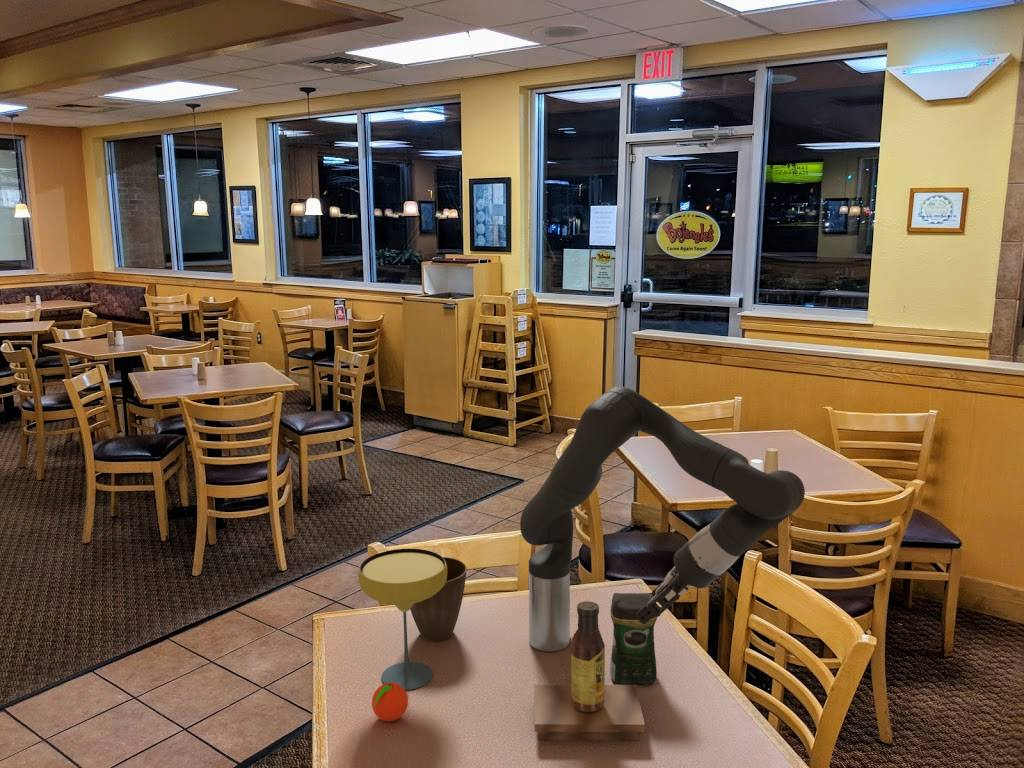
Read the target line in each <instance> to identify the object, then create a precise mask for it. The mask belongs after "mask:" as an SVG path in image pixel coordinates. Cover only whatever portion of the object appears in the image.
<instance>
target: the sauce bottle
mask: <svg viewBox="0 0 1024 768" xmlns="http://www.w3.org/2000/svg"><path fill="white" fill-rule="evenodd" d="M576 611H577V612H576V613H577V619H578V621H577V629H576V631H575V633H574V634H573V636H572V638H571V653H570V655H571V657H570V658H571V659H570V661H571V662H570V663H571V665H570V666H571V667H570V669H571V670H570V671H571V673H570V674H571V675H570V676H571V677H570V680H571V681H570V685H571V696H572V704H573V706H574V707H575V708H576V709H577V710H579V711H582V712H595V711H598V710H599V709H601V708H602V707H603V704H604V685H605V678H606V677H605V675H606V674H605V672H606V671H605V670H606V669H605V666H606V663H605V659H606V656H605V655H606V651H605V650H606V647H605V646H606V645H605V642H604V639H603V637H602V634H601V631H600V629H599V613H600V605H599V604H598V603H597V602H594V601H590V600H589V601H586V600H585V601H581V602H579V603H578V604H577V605H576Z"/></svg>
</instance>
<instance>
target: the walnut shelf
mask: <svg viewBox="0 0 1024 768" xmlns="http://www.w3.org/2000/svg"><path fill="white" fill-rule="evenodd" d="M533 694H534V695H533V696H534V697H533V698H534V699H533V700H534V701H533V704H534V705H533V706H534V708H533V709H534V710H533V711H534V712H533V713H534V717H533V718H534V722H533V723H534V732H536V733H537V732H538V733H539V741H548V742H549V741H551V742H555V741H557V740H559V741H564V742H565V741H567V742H569V741H570V742H572V741H575V742H580V741H582V742H586V741H587V742H592V741H593V742H595V741H596V742H597V741H598V742H600V741H601V742H610V741H611V742H626V741H627V742H638V741H639V733H645V732H646V731H645V730H646V723H645V719H644V716H643V715H644V714H643V711H642V707H641V702H640V698H639V694H638V690H637V686H636V685H619V684H604V704H603V707H602V708H601V709H599V710H598V711H595V712H582V711H579V710H577V709H576V708H575V707H574V706H573V704H572V696H571V684H533ZM620 740H622V741H620ZM625 740H626V741H625ZM630 740H631V741H630Z"/></svg>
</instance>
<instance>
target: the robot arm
mask: <svg viewBox="0 0 1024 768" xmlns="http://www.w3.org/2000/svg"><path fill="white" fill-rule="evenodd" d="M579 419H580V420H579V421H578V424H577V426H576V429H575V432H574V435H573V437H572V438H571V440H570V442H569V444H568V445H567V446H566V447H565V449H564V450H563V452H562V453H561V455H560V456H559V458H558V459H557V461H556V463H555V464H554V465H553V467H552V469H551V471H550V473H549V475H548V476H547V479H546V480H545V481H544V483H543V484H542V485H541V487H540V488H539V490H537V491H538V492H536V494H535V495H533V497H532V498H531V499H530V500H529V502H528V503H527V504H526V505H525V506H524V508H523V510H522V513H521V516H520V521H519V528H520V533H521V536H522V538H523V539H524V541H525V542H526V543H528V544H529V545H532V546H544V545H545V546H544V547H542V548H541V549H540V550H539V551H537V552H535V553H534V554H532V556H530V558H529V559H528V642H529V645H530V646H531V647H532V648H534V649H535V650H537V651H542V652H558V651H562V650H564V649H566V648H567V647H568V646H569V645H570V639H571V638H570V636H571V631H570V630H571V591H570V590H571V573H570V572H571V564H572V559H573V541H574V539H573V538H574V517H573V511H572V510H573V509H574V508H576V507H578V506H579V505H581V504H583V502H585V501H586V500H587V499H588V498H589V497H590V496H591V494H592V493H593V492H594V491H595V489H596V487H597V486H598V485H599V483H600V481H601V479H602V475H603V466H602V465H603V464H604V463H605V462H606V460H607V459H608V457H610V456H611V455H612V454H613V453H614V452H615V451H616V450H618V449H619V448H620V447H621V446H623V445H624V444H625V443H627V442H628V441H629V440H630V439H631V438H632V437H634V436H635V435H636V434H637V433H638V432H640V433H645V434H647V435H650V436H652V437H654V438H656V439H658V440H659V441H660V442H661V443H662V444H663V445H664V446H665V447H666V448H667V450H668V451H669V453H670V454H671V456H672V457H673V459H674V460H675V462H676V463H677V464H678V465H679V467H680V468H681V469H682V470H683V471H684V472H685V473H687V474H688V475H689V476H691V477H692V478H694V479H696V480H697V481H700V482H702V483H704V484H705V485H708V486H710V487H711V488H712V489H715V490H718V491H720V492H723V493H724V494H725V495H726V496H727V497H729V499H731V500H732V501H734V502H735V503H734V504H732V505H730V506H728V507H727V508H725V510H724V511H722V512H721V513H720V514H719V515H718V516H717V517H715V518H714V519H713V520H712V521H711V522H709V524H707V525H706V526H705V527H702V529H700V530H699V531H698V532H697V533H695V535H694V536H692V538H690V539H689V540H688V541H687V542H686V543H685V544H683V546H682V547H680V548H679V549H678V550H677V551H676V552H675V553H674V555H673V563H674V566H673V567H672V569H671V570H669V572H668V573H667V574H666V575H665V577H664V578H663V579H664V580H663V581H662V582H661V583H659V584H658V585H657V586H656V587H655V588H654V589H652V592H650V593H651V594H652V595H653V598H652V599H651V600H649V601H648V603H647V604H646V605H645V606H644V607H643V608H642V609H641V610H640V611H638V612H637V614H636V618H637V619H638V620H639V621H640V622H641V623H642V624H646V623H647V622H648V621H649V620H650V619H651V618H653V617H654V616H656V617H657V618H658V617H660V616H661V614H662V613H664V612H665V611H666V610H667V609H669V607H671V606H672V605H673V604H674V603H675V602H676V601H678V600H679V599H680V597H681V596H683V595H685V594H686V593H687V592H688V591H689V589H690V588H689V587H690V586H692V587H694V588H696V589H705V588H707V587H709V586H710V584H712V583H713V582H714V581H716V579H717V578H718V577H720V576H721V575H723V573H725V572H726V571H727V570H728V569H730V568H731V566H732V565H733V564H735V562H736V561H737V560H738V559H739V558H740V557H741V556H742V555H743V554H744V553H745V552H746V551H747V550H749V549H750V548H751V547H752V546H753V545H754V544H756V542H758V540H760V539H761V537H763V536H764V535H765V534H767V532H769V531H770V530H772V529H773V528H775V527H776V526H777V525H778V524H780V523H781V522H783V521H784V520H786V519H787V518H788V517H789V516H791V515H792V514H793V513H795V512H796V511H797V510H798V509H799V508H800V506H802V504H803V502H804V499H805V496H806V495H805V493H806V491H805V486H804V485H805V484H804V483H803V481H802V480H801V478H800V477H799V476H798V475H797V474H796V473H794V472H792V471H789V470H783V469H781V470H775V471H771V472H768V473H766V472H764V471H761V470H760V469H758V468H756V467H754V466H753V465H751V464H750V463H749V461H748V458H747V457H746V456H744V455H743V454H742V453H740V452H738V451H736V450H734V449H731V448H730V447H727V446H725V445H723V444H721V443H719V442H718V441H717V442H716V441H715V440H713V439H710V438H708V437H707V436H705V435H702V434H701V433H699V432H697V431H696V430H693V429H692V428H691V427H689V426H688V425H686V424H684V423H683V422H681V421H680V420H678V419H677V418H676V417H674V416H673V415H672V414H670V413H669V412H668V411H665V410H664V409H662V407H660V406H659V405H657V404H655V403H654V402H652V401H651V400H649V399H648V398H647V397H645V396H644V395H642V394H641V393H639V392H637V391H635V390H633V389H631V388H629V387H626V386H621V385H620V386H615V387H612V388H610V389H608V390H607V391H605V392H604V393H603V394H602V395H601V396H599V397H598V398H597V399H596V400H594V401H592V402H591V403H590V404H588V406H587V407H586V408H585V409H584V411H583V413H582V414H581V416H580V418H579Z"/></svg>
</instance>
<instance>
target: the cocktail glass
mask: <svg viewBox="0 0 1024 768" xmlns="http://www.w3.org/2000/svg"><path fill="white" fill-rule="evenodd" d="M443 557H444V556H442V555H440V554H438V553H436V552H434V551H431V550H428V549H427V550H426V549H422V548H398V549H391V550H385V551H381V552H379V553H376V554H373V555H370V556H369V557H367V558H366V559H364V561H362V562H361V564H360V566H359V569H358V583H359V587H360V590H362V592H363V593H364V594H365V595H366V596H368V597H369V598H371V599H372V600H374V601H377V602H379V603H383V604H387V605H391V606H392V605H393V606H395V607H396V608H397V609H398V611H400V612H401V613H402V618H403V639H404V641H403V646H404V647H403V648H404V649H403V650H404V658H403V659H404V661H402V662H398V663H395V664H392V665H390V666H389V667H387V668H386V669H384V671H383V672H382V674H381V676H380V679H381V682H382V685H383V684H386V683H396V684H399V685H400V686H401V687H402V688H404V689H405V691H412V690H416V689H420V688H422V687H424V686H426V685H427V684H428V683H429V682H431V681H432V678H433V674H434V672H433V670H432V668H431V667H430V666H429V665H427V664H426V663H422V662H418V661H410V659H409V647H408V627H407V626H408V625H407V624H408V623H407V612H408V611H411V610H410V608H411V607H412V606H413V604H415V603H418V602H421V601H423V600H426V599H428V598H430V597H432V596H433V595H435V594H436V593H437V592H438V591H439V590H441V588H442V587H443V586H444V585H445V582H446V580H447V565H446V561H445V560H444V558H443Z"/></svg>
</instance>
